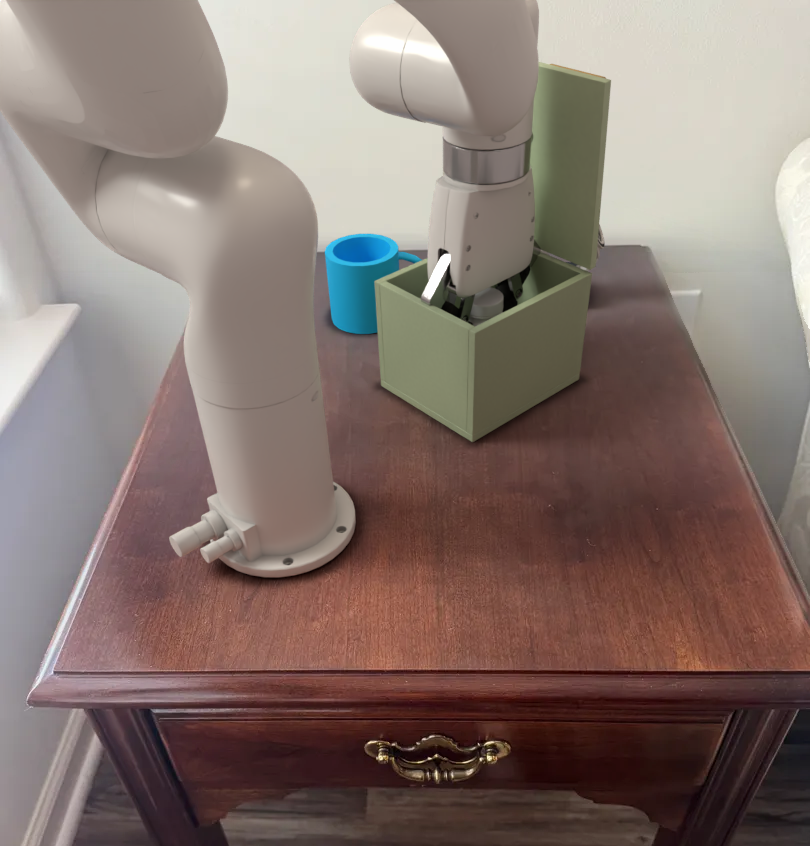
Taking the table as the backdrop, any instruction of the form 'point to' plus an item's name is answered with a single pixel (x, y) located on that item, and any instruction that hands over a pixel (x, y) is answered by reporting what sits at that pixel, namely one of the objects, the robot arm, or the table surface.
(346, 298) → the mug
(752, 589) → the table surface
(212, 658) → the table surface
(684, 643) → the table surface
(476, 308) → the pill bottle
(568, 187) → the lid
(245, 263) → the robot arm
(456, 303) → the chest
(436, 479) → the table surface
